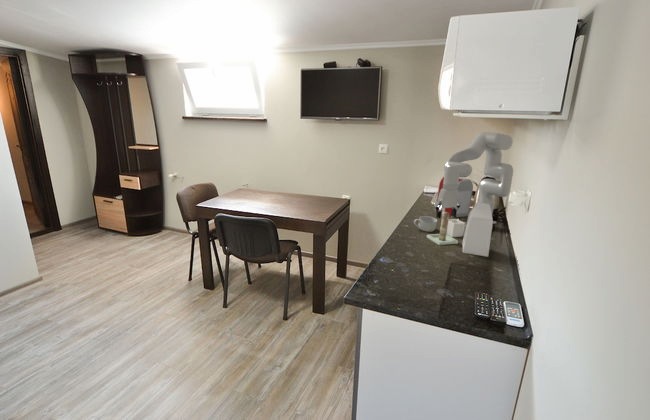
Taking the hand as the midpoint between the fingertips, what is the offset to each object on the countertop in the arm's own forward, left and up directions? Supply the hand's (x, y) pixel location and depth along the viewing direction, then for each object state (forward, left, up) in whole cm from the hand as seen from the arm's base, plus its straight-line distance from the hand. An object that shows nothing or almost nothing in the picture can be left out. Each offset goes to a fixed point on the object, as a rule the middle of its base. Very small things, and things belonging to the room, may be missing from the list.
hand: (445, 217), depth 179 cm
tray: (0, 0, -14) cm, 14 cm away
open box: (-13, -7, -14) cm, 20 cm away
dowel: (0, 0, -13) cm, 13 cm away
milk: (-9, +15, -15) cm, 23 cm away
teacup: (0, -18, -15) cm, 23 cm away
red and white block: (-43, -49, -15) cm, 66 cm away
